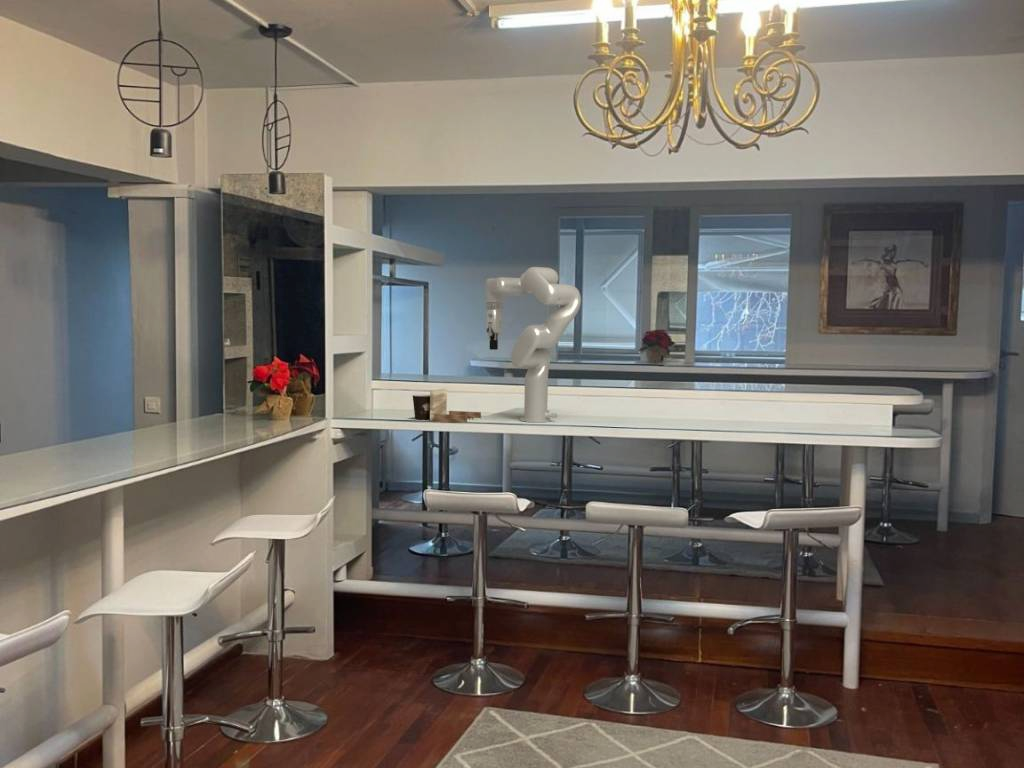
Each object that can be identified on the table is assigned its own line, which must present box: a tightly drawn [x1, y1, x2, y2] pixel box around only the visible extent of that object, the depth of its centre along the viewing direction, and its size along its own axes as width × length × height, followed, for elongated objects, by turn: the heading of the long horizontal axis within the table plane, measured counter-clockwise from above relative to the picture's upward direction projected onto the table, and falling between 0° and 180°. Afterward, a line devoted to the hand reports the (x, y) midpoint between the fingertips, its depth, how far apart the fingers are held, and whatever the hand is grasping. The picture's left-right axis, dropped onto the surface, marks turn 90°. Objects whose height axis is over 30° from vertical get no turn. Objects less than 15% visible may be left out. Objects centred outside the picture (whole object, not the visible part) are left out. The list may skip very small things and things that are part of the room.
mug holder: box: [433, 410, 482, 424], centre depth 397 cm, size 14×17×3 cm
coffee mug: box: [412, 394, 430, 421], centre depth 399 cm, size 12×9×10 cm
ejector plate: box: [429, 388, 448, 421], centre depth 399 cm, size 2×14×12 cm, turn 161°
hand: (493, 349), depth 415 cm, fingers closed
